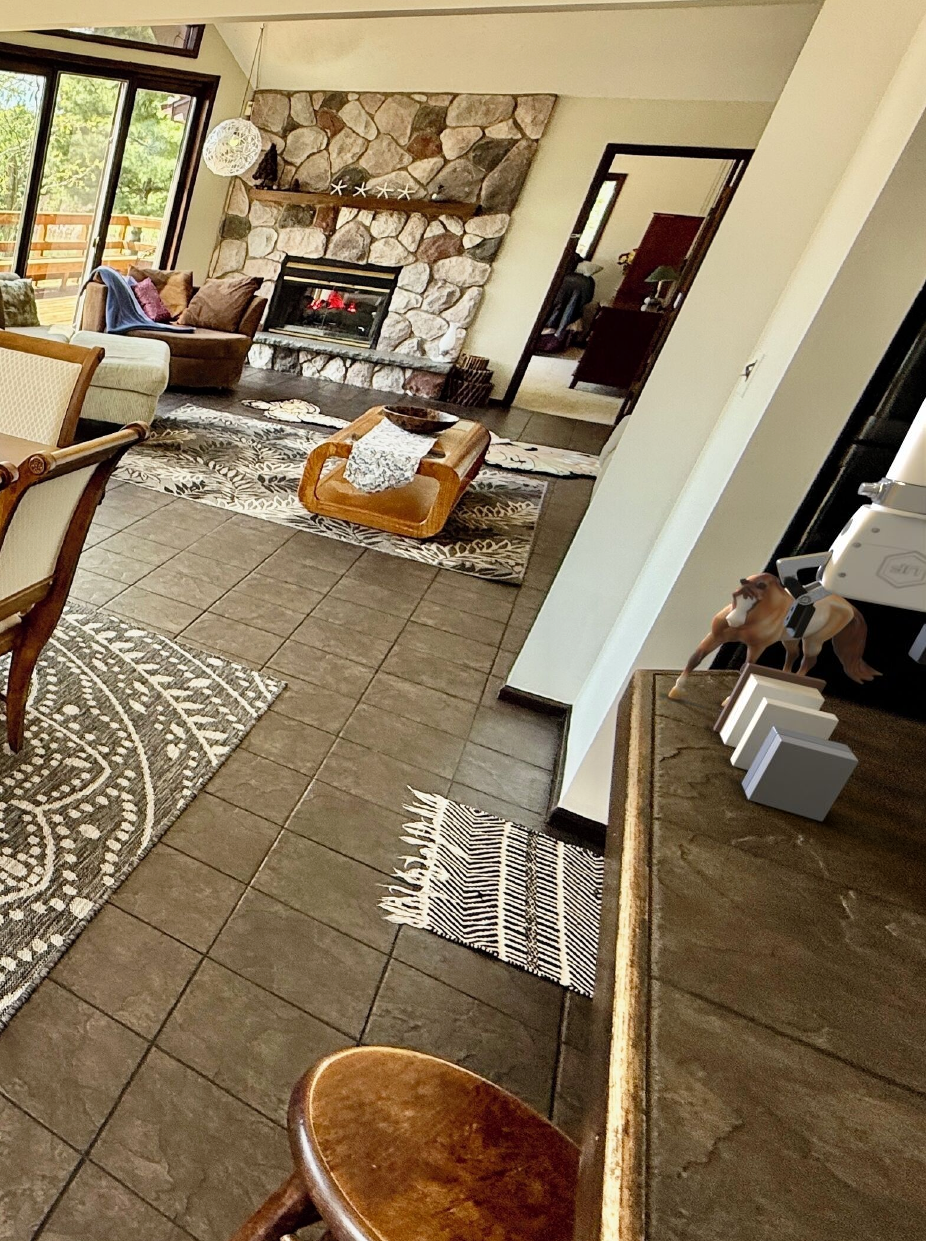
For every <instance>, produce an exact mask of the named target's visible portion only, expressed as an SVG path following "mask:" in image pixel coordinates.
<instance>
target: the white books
mask: <svg viewBox="0 0 926 1241" xmlns="http://www.w3.org/2000/svg"><path fill="white" fill-rule="evenodd" d="M739 676H740V677H739V678H738V679H737V681H736V682H737V683H736V684H735V686H734V688H733V690H732V692H731V694H730V697H729V696H728V697H729V699H728V701H727V703H726V705H725V707H723V709H722V711H721V713H720V715H719V717H718V719H717V720H716V722H715V724H714V726H713V731H714V732H715V733H718V734H719V735H720V738H721V740H722V742H723V744H724V745H726V746H728V747H732V748H735V749H736V748H737V746H738V744H739V742H740V741H741V739H742V737H743V735H744V733H745V731H746V729H747V728H748V726H749V724H750V722H751V720H752V718H753V716H754V715H755V713H756V711H757V709H758V707H759V705H760V704H761V702H762V700H763V698H764V697H765V698H769V699H773V700H778V701H782V702H786V703H790V704H794V705H798V706H802V707H806V708H810V709H814V710H818V711H820V709H821V708H822V706H823V705H824V702H825V701H826V700H825V698H824V697H823V696H822V692H823V690H824V688H825V687H826V685H827V682H826V680H824V679H821V678H816V677H811V676H808V675H805V676H803V675H799V674H796V673H795V672H791V673H790V672H786V671H783V669H782V670H781V669H778V668H773V667H769V666H764V665H760V664H756V663H755V664H752V663H747V665H746V667H745V669H744V671H743V673H742V674H741V673H740V675H739Z"/></svg>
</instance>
